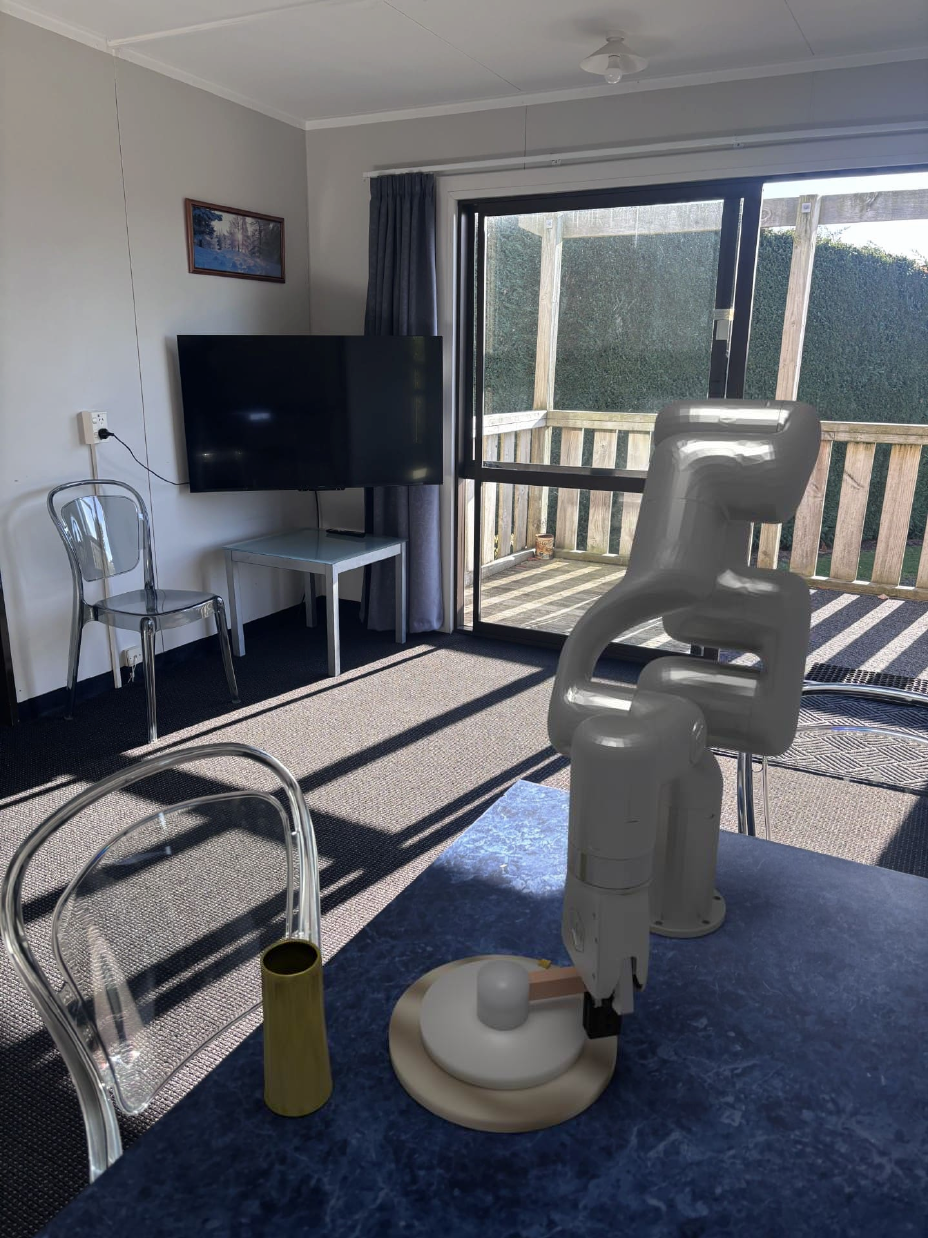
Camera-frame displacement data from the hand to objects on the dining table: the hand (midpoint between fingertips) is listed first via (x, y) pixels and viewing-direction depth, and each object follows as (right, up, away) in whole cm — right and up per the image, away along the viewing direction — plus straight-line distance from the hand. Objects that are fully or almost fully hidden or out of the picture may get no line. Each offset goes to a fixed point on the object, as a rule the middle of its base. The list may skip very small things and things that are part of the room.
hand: (601, 1031), depth 83 cm
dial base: (-9, -3, +4) cm, 10 cm away
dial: (-6, -1, +5) cm, 8 cm away
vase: (-28, -5, -2) cm, 28 cm away
